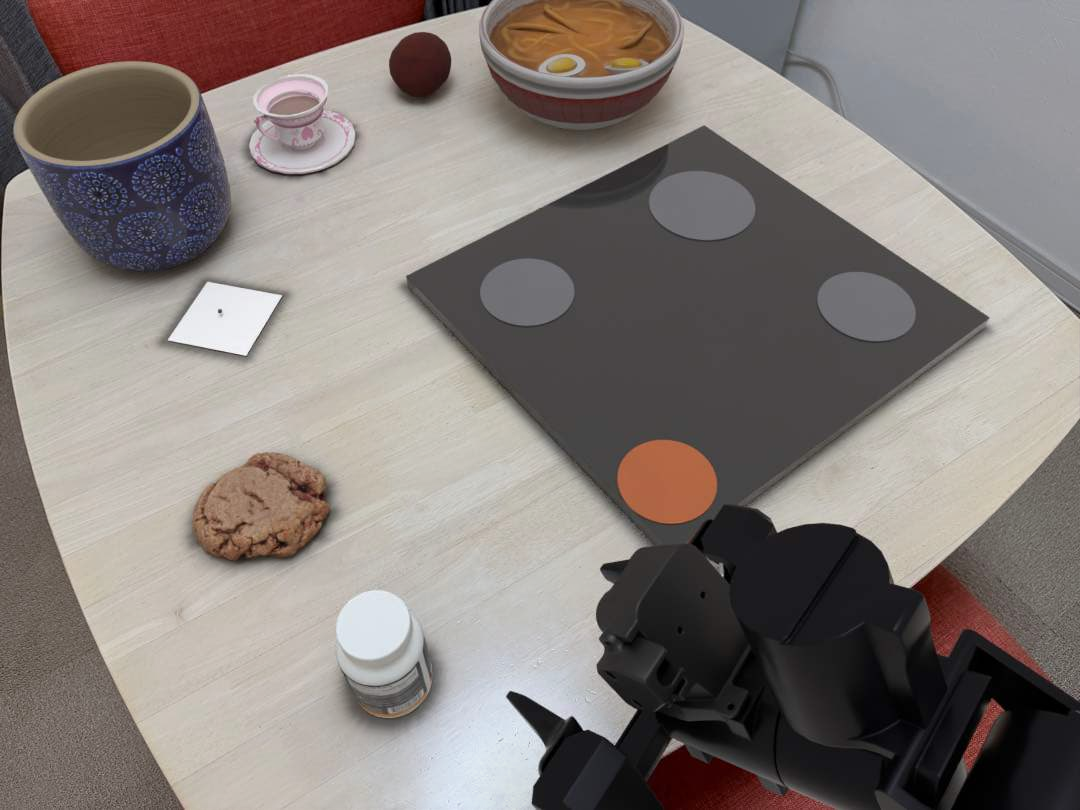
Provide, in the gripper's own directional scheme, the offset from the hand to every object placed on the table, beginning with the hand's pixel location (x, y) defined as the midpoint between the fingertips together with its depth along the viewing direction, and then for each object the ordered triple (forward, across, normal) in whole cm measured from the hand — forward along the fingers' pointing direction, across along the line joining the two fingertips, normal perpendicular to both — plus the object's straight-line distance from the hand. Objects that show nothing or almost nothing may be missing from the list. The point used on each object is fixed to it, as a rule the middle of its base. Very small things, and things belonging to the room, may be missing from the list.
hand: (559, 632), depth 50 cm
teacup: (+60, -37, -19) cm, 73 cm away
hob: (+18, -39, +6) cm, 44 cm away
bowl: (+42, -62, -8) cm, 75 cm away
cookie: (+32, +1, -3) cm, 32 cm away
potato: (+56, -53, -17) cm, 79 cm away
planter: (+60, -17, -20) cm, 66 cm away
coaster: (+48, -13, -12) cm, 51 cm away
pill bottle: (+17, +5, +6) cm, 19 cm away
